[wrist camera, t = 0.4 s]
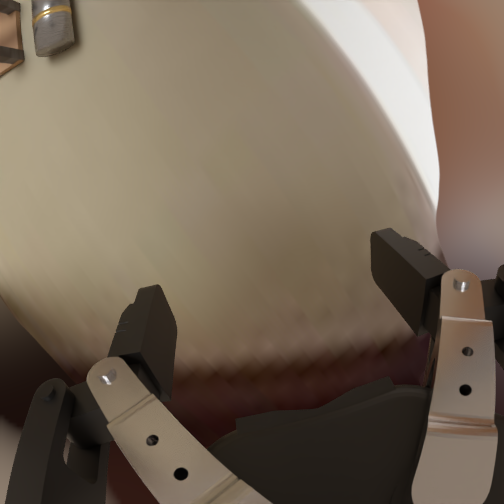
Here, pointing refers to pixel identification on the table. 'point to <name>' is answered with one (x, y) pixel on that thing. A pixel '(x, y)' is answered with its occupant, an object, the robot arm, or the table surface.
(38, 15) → the grey cylinder
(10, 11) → the cylinder holder stand
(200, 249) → the table surface
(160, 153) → the table surface
